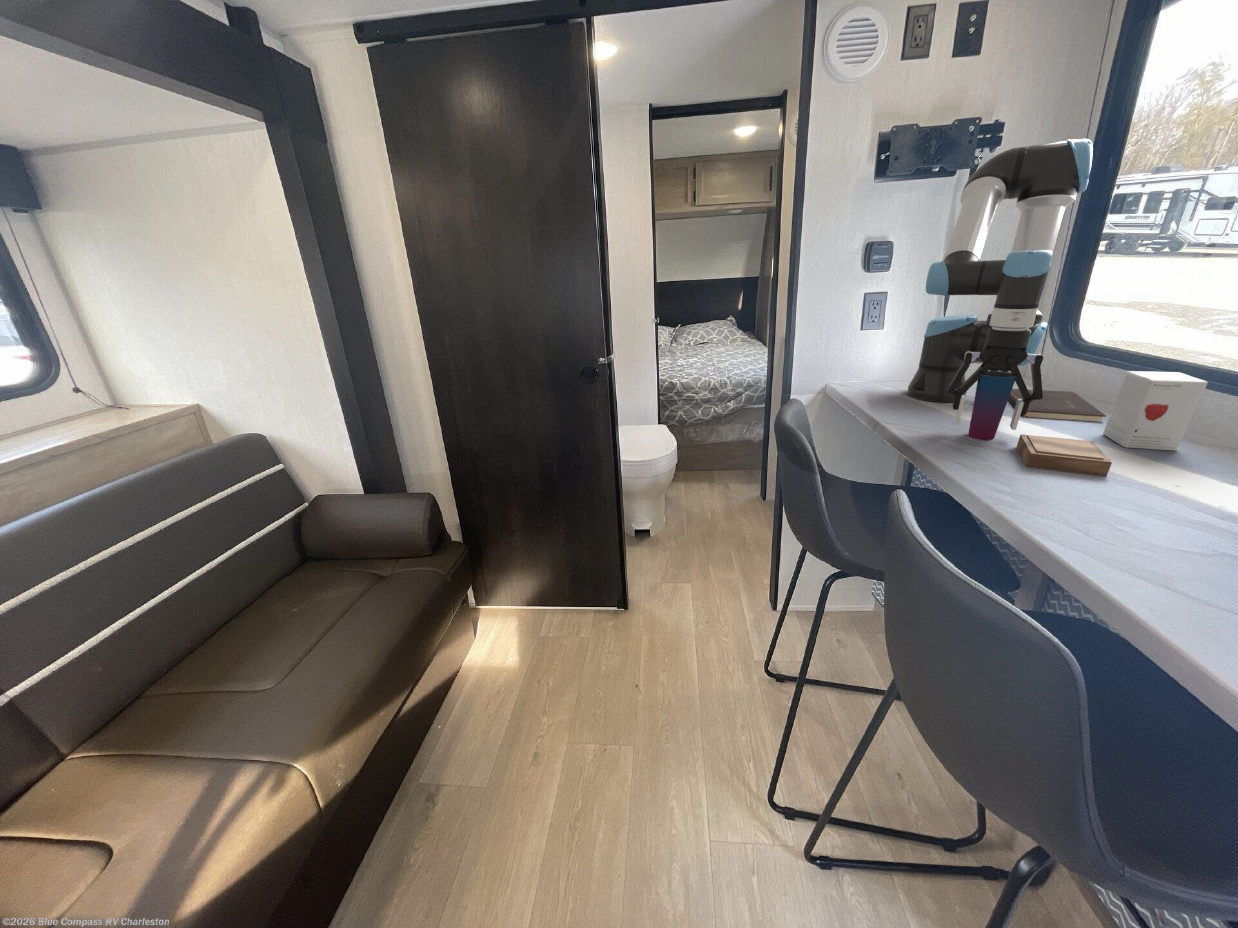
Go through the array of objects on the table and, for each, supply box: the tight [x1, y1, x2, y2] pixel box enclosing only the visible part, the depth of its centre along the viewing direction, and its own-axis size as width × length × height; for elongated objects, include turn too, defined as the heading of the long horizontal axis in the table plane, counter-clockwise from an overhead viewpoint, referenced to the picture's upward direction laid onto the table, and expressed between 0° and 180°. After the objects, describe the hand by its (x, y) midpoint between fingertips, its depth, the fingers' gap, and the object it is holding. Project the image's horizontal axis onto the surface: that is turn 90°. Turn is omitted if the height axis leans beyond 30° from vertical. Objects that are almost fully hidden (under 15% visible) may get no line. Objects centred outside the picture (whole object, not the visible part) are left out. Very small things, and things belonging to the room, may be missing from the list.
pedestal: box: [1016, 433, 1113, 477], centre depth 98 cm, size 12×12×3 cm
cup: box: [967, 370, 1016, 441], centre depth 110 cm, size 7×7×15 cm
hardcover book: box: [1008, 388, 1107, 423], centre depth 130 cm, size 16×23×2 cm
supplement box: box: [1102, 370, 1208, 452], centre depth 102 cm, size 9×9×15 cm
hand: (984, 425), depth 112 cm, fingers open, 10 cm apart
